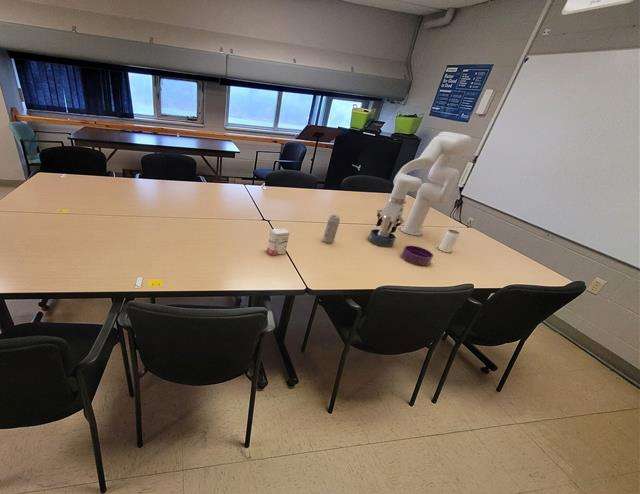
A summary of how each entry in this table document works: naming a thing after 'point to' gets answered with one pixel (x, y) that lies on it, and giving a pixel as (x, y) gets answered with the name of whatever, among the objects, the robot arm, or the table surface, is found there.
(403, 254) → the plum bowl
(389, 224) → the silver metal bottle
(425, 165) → the robot arm
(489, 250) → the table surface
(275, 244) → the ink box
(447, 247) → the can
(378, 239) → the blue bowl
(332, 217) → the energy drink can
